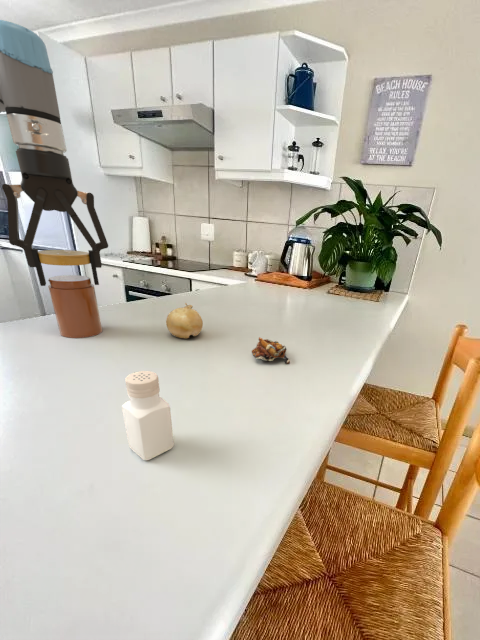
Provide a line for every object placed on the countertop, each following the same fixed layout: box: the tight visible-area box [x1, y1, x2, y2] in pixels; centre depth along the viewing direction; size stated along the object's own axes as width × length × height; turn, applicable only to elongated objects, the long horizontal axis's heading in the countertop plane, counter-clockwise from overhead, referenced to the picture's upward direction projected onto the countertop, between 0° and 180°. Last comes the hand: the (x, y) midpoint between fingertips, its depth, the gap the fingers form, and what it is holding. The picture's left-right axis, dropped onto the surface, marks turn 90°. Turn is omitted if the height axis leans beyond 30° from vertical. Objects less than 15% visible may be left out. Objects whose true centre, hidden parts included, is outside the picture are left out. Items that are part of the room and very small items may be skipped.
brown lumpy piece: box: [251, 336, 291, 365], centre depth 68 cm, size 7×12×4 cm, turn 15°
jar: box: [47, 274, 103, 339], centre depth 69 cm, size 8×8×12 cm
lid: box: [37, 249, 91, 267], centre depth 64 cm, size 9×9×2 cm
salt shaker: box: [121, 370, 175, 461], centre depth 36 cm, size 4×4×10 cm
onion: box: [165, 302, 204, 339], centre depth 73 cm, size 8×8×7 cm
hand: (70, 284), depth 66 cm, fingers closed on lid, 9 cm apart
